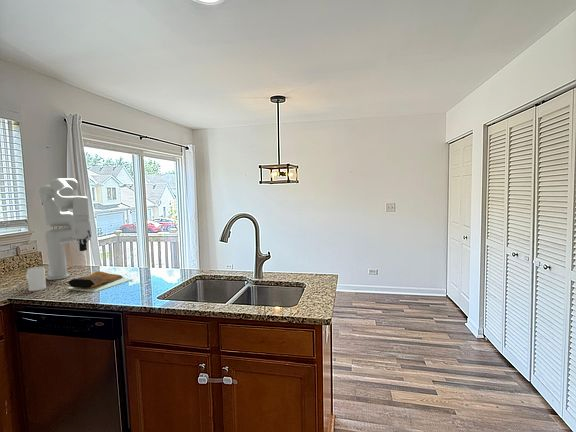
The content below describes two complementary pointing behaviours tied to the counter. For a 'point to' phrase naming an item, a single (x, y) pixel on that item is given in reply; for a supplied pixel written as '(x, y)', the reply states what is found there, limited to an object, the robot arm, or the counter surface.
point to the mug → (36, 278)
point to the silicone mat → (102, 285)
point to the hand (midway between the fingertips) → (83, 250)
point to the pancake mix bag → (93, 280)
